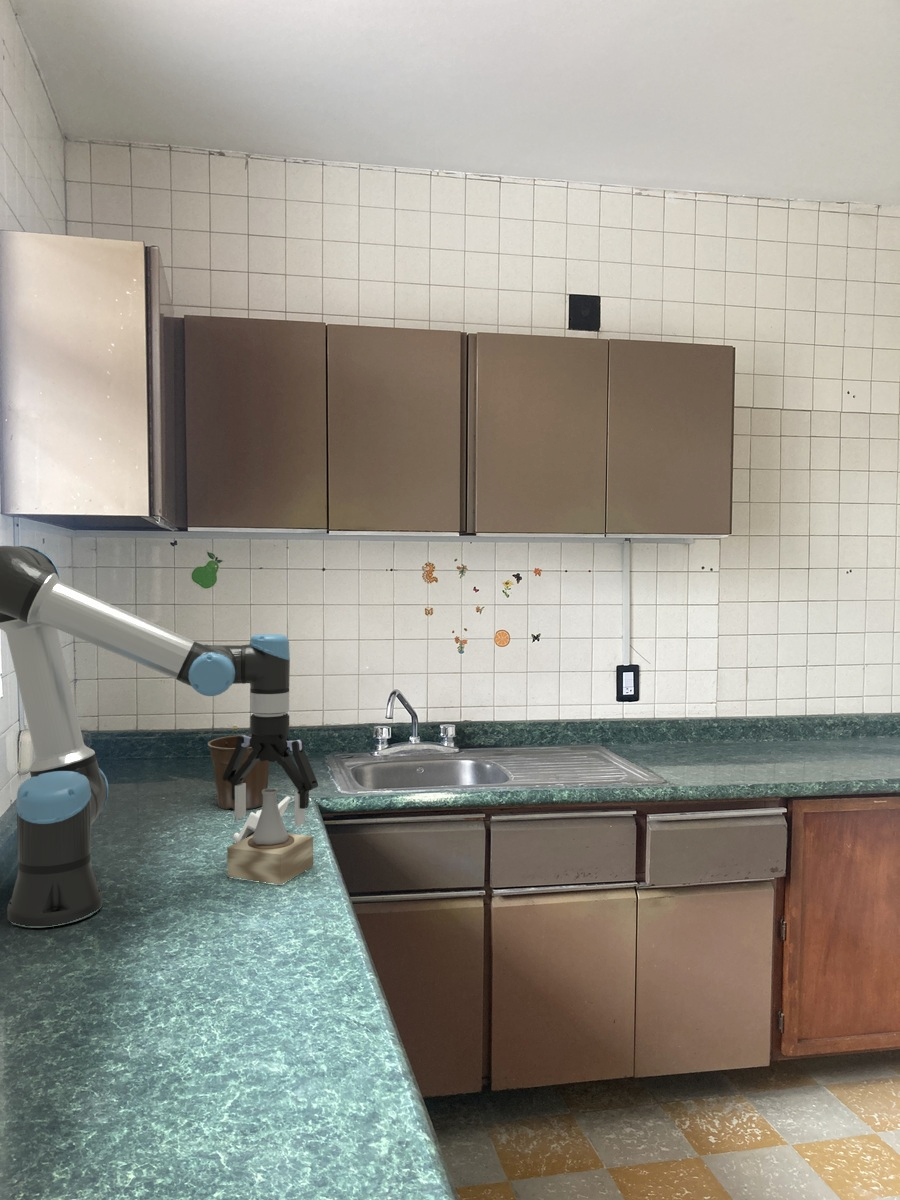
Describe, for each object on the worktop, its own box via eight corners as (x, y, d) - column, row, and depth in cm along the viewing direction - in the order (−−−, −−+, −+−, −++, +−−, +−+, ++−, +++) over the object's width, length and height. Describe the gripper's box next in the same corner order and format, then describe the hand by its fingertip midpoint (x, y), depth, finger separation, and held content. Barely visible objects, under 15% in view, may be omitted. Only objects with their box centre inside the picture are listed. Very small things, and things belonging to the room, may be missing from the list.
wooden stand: (227, 878, 173) (227, 845, 173) (262, 858, 184) (261, 828, 184) (281, 886, 169) (281, 853, 168) (313, 866, 180) (313, 835, 180)
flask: (252, 847, 172) (251, 796, 171) (251, 836, 179) (250, 786, 178) (290, 844, 173) (289, 793, 173) (287, 833, 180) (287, 784, 180)
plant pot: (225, 817, 214) (225, 750, 214) (197, 803, 227) (197, 740, 226) (286, 805, 225) (285, 741, 224) (256, 792, 237) (255, 732, 237)
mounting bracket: (256, 855, 192) (275, 811, 191) (230, 843, 193) (249, 798, 192) (272, 838, 204) (291, 796, 203) (248, 826, 205) (266, 784, 204)
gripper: (335, 714, 174) (335, 822, 175) (227, 706, 183) (227, 808, 184) (316, 720, 167) (315, 833, 168) (204, 711, 176) (204, 818, 177)
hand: (269, 820), depth 176 cm, fingers open, 13 cm apart
